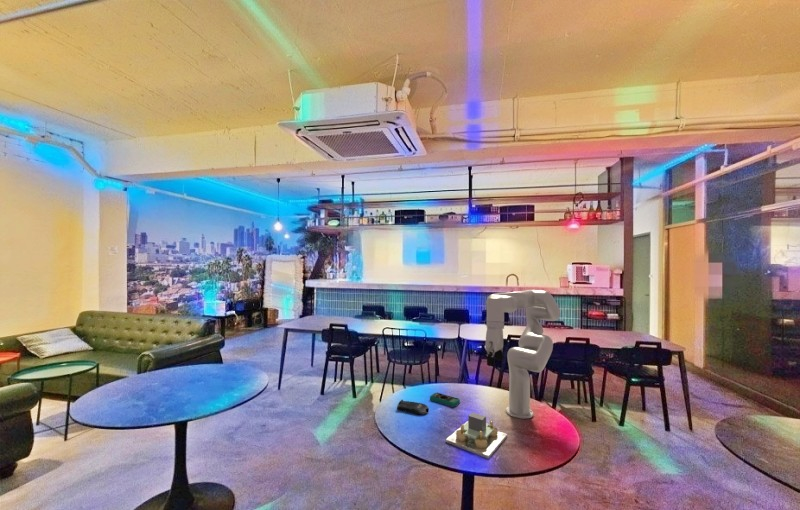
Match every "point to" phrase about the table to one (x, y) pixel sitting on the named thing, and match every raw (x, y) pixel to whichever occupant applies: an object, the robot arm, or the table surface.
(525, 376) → the robot arm
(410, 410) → the electronic device
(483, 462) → the table surface
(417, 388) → the table surface
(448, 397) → the digital multimeter
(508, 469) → the table surface
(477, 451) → the chassis
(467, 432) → the board
